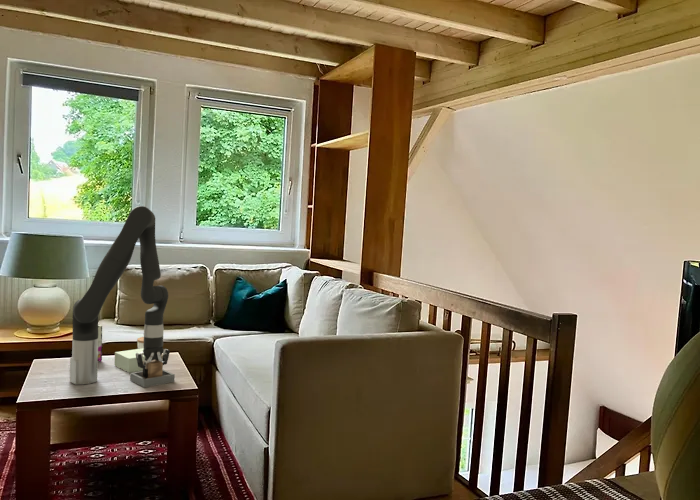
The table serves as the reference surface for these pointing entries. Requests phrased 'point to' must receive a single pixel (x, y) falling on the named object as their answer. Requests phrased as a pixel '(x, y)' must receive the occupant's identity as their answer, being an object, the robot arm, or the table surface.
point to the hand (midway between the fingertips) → (152, 376)
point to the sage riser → (128, 360)
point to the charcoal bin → (152, 379)
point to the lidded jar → (140, 342)
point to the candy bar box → (99, 343)
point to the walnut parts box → (154, 369)
